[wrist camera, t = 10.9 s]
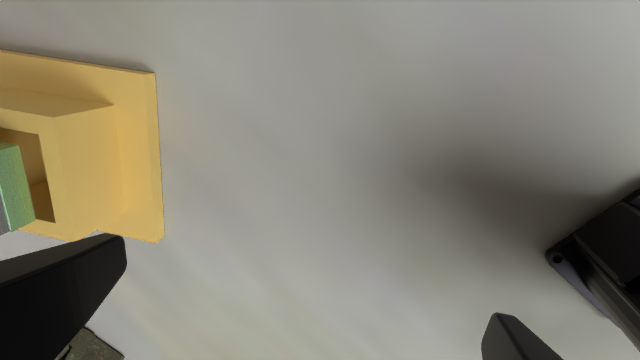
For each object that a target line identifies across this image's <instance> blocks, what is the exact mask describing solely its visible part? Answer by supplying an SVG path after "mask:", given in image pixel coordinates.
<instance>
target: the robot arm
mask: <svg viewBox="0 0 640 360" xmlns="http://www.w3.org/2000/svg"><path fill="white" fill-rule="evenodd" d="M557 255H560V256H559V258H557V259H553V257H554V256H557ZM545 259H546V261H547V262H548V263H549V265H550V266H552V267H553V268H554V269H555V270H556V271H557V272H558V273H559V274H560V275H561V276H563V277H564V278H565V279H566V280H567V281H568V282H569V283H570V284H571V285H572V286H573V287H575V288H576V289H577V290H578V291H579V292H580V293H581V294H582V295H583V296H584V297H585V298H587V299H588V300H589V301H590V302H591V303H592V304H593V305H594V306H595V307H596V308H598V309H599V310H600V311H601V312H602V313H603V314H604V315H605V316H606V317H607V318H608V319H610V320H611V321H612V322H613V323H614V324H615V325H616V326H617V327H619V328H620V329H621V330H622V331H623V332H624V334H625V335H626V336H627V337H628V338H629V340H630V341H631V342H632V343H633V344H634V346H635V347H636V348H637V349H638V350H639V352H640V189H638V190H637V191H635V192H634V193H632V194H631V195H629V196H628V197H626V198H625V199H623V200H622V201H620V202H619V203H617V204H615V205H614V206H612V207H611V208H609V209H608V210H606V211H605V212H603V213H602V214H600V215H599V216H597V217H596V218H594V219H593V220H591V221H590V222H588V223H587V224H585V225H584V226H582V227H581V228H579V229H578V230H576V231H575V232H574V233H572V234H571V235H569V236H568V237H566V238H565V239H563V240H562V241H560V242H559V243H557V244H556V245H554V246H553V247H551V248H550V249H548V250H547V251H546V253H545ZM126 267H127V258H126V250H125V242H124V239H123V237H121V236H120V235H115V234H110V233H103V234H99V235H96V236H92V237H88V238H84V239H81V240H77V241H73V242H70V243H66V244H62V245H59V246H55V247H51V248H47V249H44V250H40V251H36V252H33V253H29V254H25V255H21V256H18V257H14V258H10V259H7V260H3V261H0V360H55V359H56V358H57V357H58V355H59V354H60V353H61V352H62V351H63V350H64V349H65V348H66V346H67V345H68V344H69V343H70V342H71V341H72V340H73V339H74V337H75V336H76V335H77V334H78V333H79V332H80V330H81V329H82V328H83V327H84V326H85V324H86V323H87V322H88V321H89V319H90V318H91V317H92V315H93V314H94V313H95V311H96V310H97V309H98V307H99V306H100V305H101V303H102V302H103V301H104V299H105V298H106V296H107V295H108V294H109V292H110V291H111V290H112V288H113V287H114V286H115V284H116V283H117V282H118V280H119V279H120V278H121V276H122V275H123V273H124V272H125V270H126ZM481 350H482V358H483V360H563V359H562V358H561V357H560V356H559V355H558V354H557V353H556V352H554V351H553V350H552V349H551V348H550V347H549V346H548V345H547V344H545V343H544V342H543V341H542V340H541V339H540V338H539V337H538V336H536V335H535V334H534V333H533V332H532V331H531V330H530V329H529V328H527V327H526V326H525V325H524V324H523V323H522V322H521V321H520V320H518V319H517V318H516V317H515V316H512V315H508V314H503V313H498V312H496V313H494V314H493V315H492V316H491V318H490V321H489V323H488V326H487V328H486V331H485V334H484V336H483V339H482V344H481Z"/></svg>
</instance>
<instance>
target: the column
mask: <svg viewBox="0 0 640 360" xmlns="http://www.w3.org/2000/svg"><path fill="white" fill-rule="evenodd" d="M35 219H36V216H35V211H34V207H33V202H32V198H31V193H30V189H29V184H28V179H27V175H26V170H25V166H24V161H23V156H22V152H21V147H20V146H19V145H15V144H10V143H5V142H0V235H2V234H4V233H7V232H9V231H11V232H13V231H15V230H17V229H19V228H21V227H23V226H25V225H27V224H29V223H31V222H34V221H35Z"/></svg>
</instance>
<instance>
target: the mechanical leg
mask: <svg viewBox="0 0 640 360" xmlns="http://www.w3.org/2000/svg"><path fill="white" fill-rule="evenodd" d="M123 359H124V356H122V355H121V354H119V353H118V352H116V351H115V350H114V349H112V348H111V347H109V346H108V345H107V344H105V343H104V342H102V341H101V340H99V339H98V338H97V337H95V336H94V334H93V333H91V332H90V331H88V330H87V329H84V328H82V329H81V330H80V332H79V333H78V334H77V335H76V336H75V337H74V339H73V340H72V341H71V342H70V343H69V344H68V345H67V346H66V348H65V349H64V350H63V351H62V352H61V353H60V354H59V355H58V357H57V358H56V359H55V360H123Z"/></svg>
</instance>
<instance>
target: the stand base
mask: <svg viewBox="0 0 640 360" xmlns="http://www.w3.org/2000/svg"><path fill="white" fill-rule="evenodd" d="M0 142H5V143H10V144H15V145H19V146H20V147H21V152H22V156H23V161H24V166H25V170H26V175H27V179H28V184H29V189H30V193H31V198H32V202H33V207H34V211H35V216H36V219H35V221H34V222H31V223H29V224H27V225H25V226H23V227H21V228H19V229H17V230H22V231H26V232H30V233H35V234H39V235H43V236H47V237H52V238H56V239H60V240H65V241H69V242H73V241H77V240H80V239H82V238H84V237H85V236H87V235H88V234H90V233H92V232H93V231H95V230H98V231H103V232H107V233H112V234H116V235H121V236H125V237H129V238H134V239H138V240H143V241H147V242H152V243H157V242H158V241H159V240H160V239H162V238H163V237H164V236H165V234H164V217H163V199H162V182H161V165H160V148H159V130H158V113H157V96H156V79H155V73H150V72H143V71H137V70H130V69H124V68H117V67H111V66H104V65H98V64H91V63H85V62H78V61H72V60H65V59H59V58H52V57H46V56H39V55H33V54H26V53H20V52H13V51H7V50H0Z"/></svg>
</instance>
